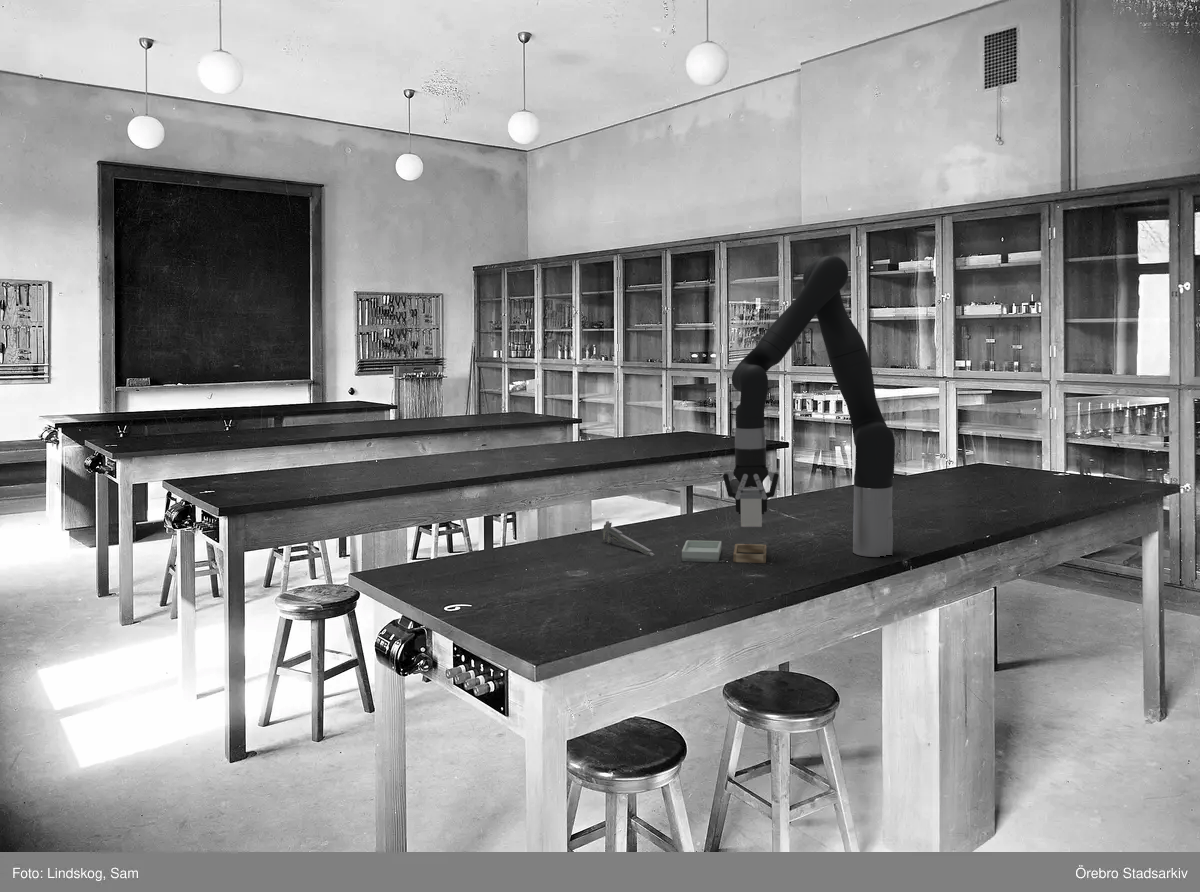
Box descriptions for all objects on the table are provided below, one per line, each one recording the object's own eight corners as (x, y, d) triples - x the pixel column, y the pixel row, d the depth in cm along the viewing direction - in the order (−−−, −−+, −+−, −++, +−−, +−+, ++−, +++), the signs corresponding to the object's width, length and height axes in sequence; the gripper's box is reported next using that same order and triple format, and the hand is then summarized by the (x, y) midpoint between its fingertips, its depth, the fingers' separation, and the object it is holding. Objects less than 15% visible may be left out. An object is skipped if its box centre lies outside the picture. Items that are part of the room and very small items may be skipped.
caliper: (602, 543, 248) (602, 520, 247) (606, 542, 249) (605, 520, 248) (651, 557, 232) (651, 533, 231) (655, 556, 232) (654, 532, 232)
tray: (721, 550, 236) (721, 541, 236) (718, 562, 224) (718, 552, 224) (686, 549, 238) (686, 540, 237) (681, 561, 226) (681, 551, 226)
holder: (766, 552, 233) (766, 544, 233) (765, 563, 223) (765, 555, 222) (735, 551, 235) (735, 543, 234) (733, 562, 224) (733, 554, 224)
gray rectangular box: (762, 520, 231) (761, 488, 230) (762, 526, 223) (761, 494, 222) (741, 519, 232) (741, 488, 231) (740, 526, 224) (740, 494, 223)
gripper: (780, 443, 227) (780, 511, 229) (721, 444, 230) (723, 510, 232) (780, 447, 220) (780, 517, 222) (720, 448, 223) (721, 516, 225)
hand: (751, 513), depth 227 cm, fingers closed on gray rectangular box, 5 cm apart
